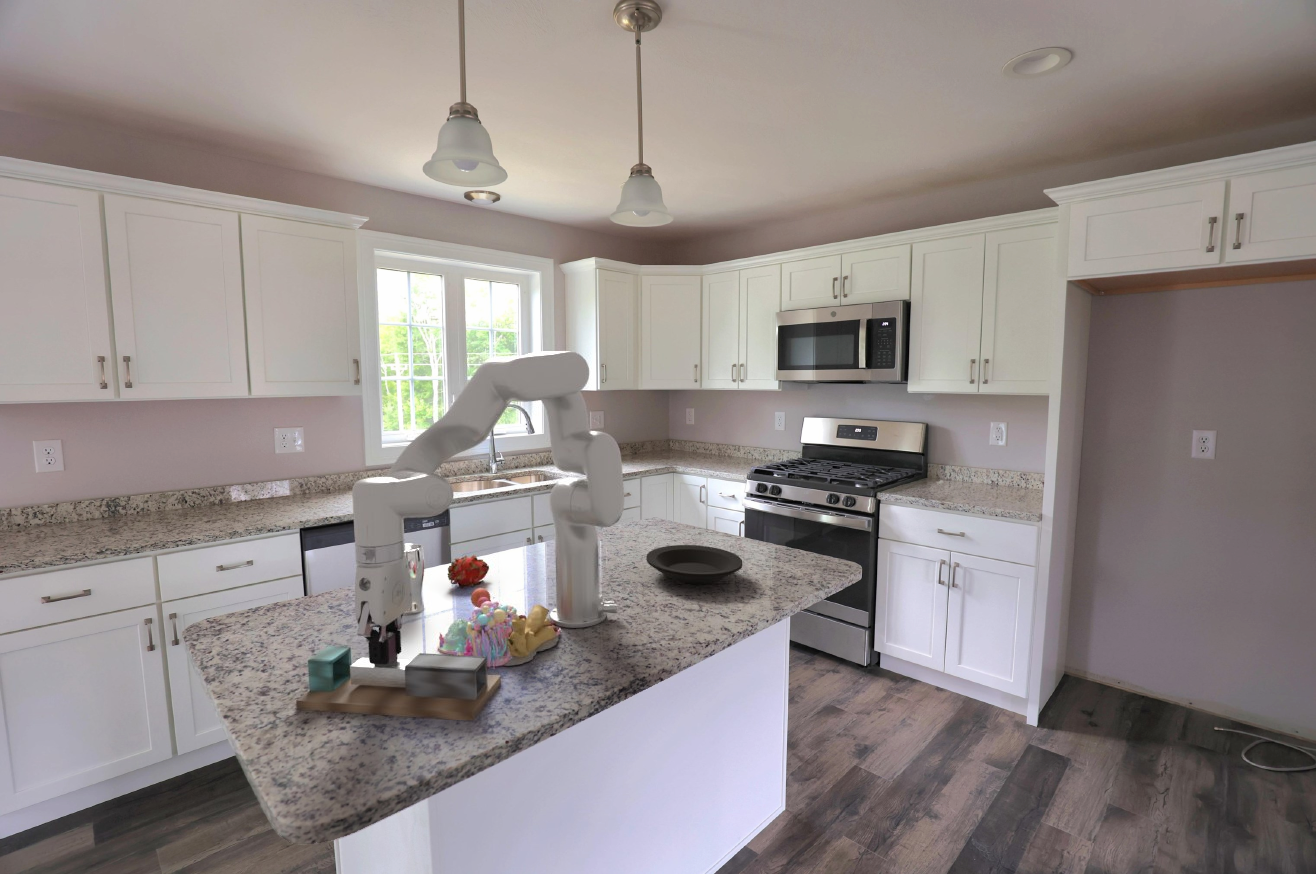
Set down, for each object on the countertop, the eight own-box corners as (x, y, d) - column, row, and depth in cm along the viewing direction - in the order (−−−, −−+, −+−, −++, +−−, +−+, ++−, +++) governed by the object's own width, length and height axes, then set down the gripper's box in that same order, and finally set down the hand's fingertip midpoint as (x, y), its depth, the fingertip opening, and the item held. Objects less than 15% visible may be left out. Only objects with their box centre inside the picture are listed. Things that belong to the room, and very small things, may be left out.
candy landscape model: (576, 626, 135) (575, 585, 134) (531, 677, 112) (530, 628, 111) (472, 617, 141) (470, 577, 140) (409, 664, 118) (406, 617, 117)
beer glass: (414, 617, 140) (412, 552, 139) (387, 615, 141) (384, 550, 140) (432, 606, 147) (429, 544, 145) (405, 604, 148) (402, 542, 147)
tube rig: (501, 683, 109) (499, 646, 109) (472, 720, 97) (471, 679, 97) (342, 674, 113) (340, 638, 112) (296, 709, 101) (294, 669, 100)
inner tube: (466, 681, 105) (465, 634, 104) (458, 690, 102) (456, 642, 101) (362, 675, 108) (359, 629, 107) (351, 684, 104) (348, 637, 104)
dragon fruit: (443, 596, 158) (485, 591, 166) (458, 582, 153) (501, 578, 162) (437, 565, 161) (478, 562, 170) (451, 551, 157) (493, 548, 165)
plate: (763, 584, 161) (763, 563, 160) (689, 603, 148) (689, 580, 147) (696, 558, 184) (696, 540, 184) (628, 573, 171) (627, 553, 170)
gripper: (373, 567, 95) (379, 682, 96) (425, 539, 111) (430, 639, 113) (327, 566, 95) (334, 680, 97) (386, 538, 112) (391, 637, 113)
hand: (385, 657), depth 105 cm, fingers closed on inner tube, 3 cm apart
